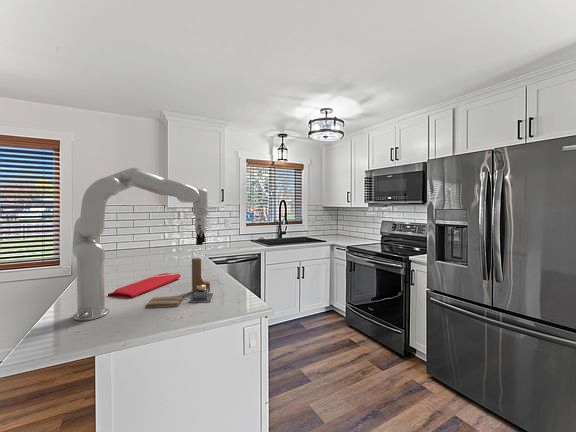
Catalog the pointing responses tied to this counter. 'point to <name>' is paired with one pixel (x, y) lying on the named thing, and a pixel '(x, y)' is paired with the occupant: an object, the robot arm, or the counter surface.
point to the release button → (201, 287)
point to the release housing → (201, 296)
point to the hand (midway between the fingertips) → (200, 243)
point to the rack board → (164, 301)
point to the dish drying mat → (144, 286)
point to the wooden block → (197, 275)
